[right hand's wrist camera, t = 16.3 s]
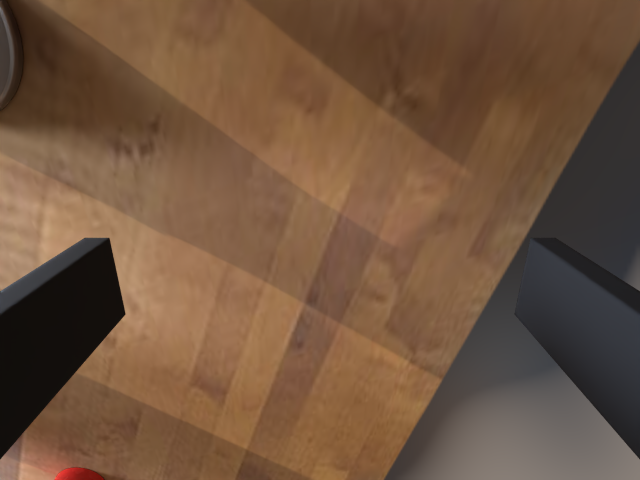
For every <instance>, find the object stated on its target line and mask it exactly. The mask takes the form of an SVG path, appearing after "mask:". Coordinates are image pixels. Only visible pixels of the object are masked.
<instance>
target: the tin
mask: <svg viewBox="0 0 640 480" xmlns="http://www.w3.org/2000/svg"><path fill="white" fill-rule="evenodd" d="M54 480H104V479H103V478H102V477H101V476H100V475H99V474H97V473H95V472H94V471H91V470H88V469H85V468H68V469H65V470H63V471H61V472H60V473H59V474H58V475H57V476H56V478H55V479H54Z"/></svg>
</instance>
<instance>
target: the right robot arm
mask: <svg viewBox="0 0 640 480" xmlns="http://www.w3.org/2000/svg"><path fill="white" fill-rule="evenodd" d="M22 69H23V48H22V42H21V37H20V33H19V29H18V26H17V23H16V21H15V18H14V16H13V13H12V11H11V9H10V7H9V5H8V3H7V2H6V0H0V111H1V110H2V109H3V108H4V107H5V106H6V105H7V104H8V103H9V102H10V101H11V99H12V98H13V96H14V95H15V93H16V91H17V89H18V86H19V83H20V80H21V76H22ZM124 315H125V310H124V305H123V300H122V295H121V291H120V286H119V281H118V276H117V272H116V267H115V262H114V258H113V253H112V248H111V243H110V239H109V238H84V239H82V240H81V241H79V242H78V243H76V244H74V245H73V246H71V247H70V248H68V249H67V250H65V251H63V252H62V253H60V254H59V255H57V256H55V257H54V258H52V259H51V260H49V261H48V262H46V263H44V264H43V265H41V266H40V267H38V268H36V269H35V270H33V271H32V272H30V273H29V274H27V275H25V276H24V277H22V278H21V279H19V280H17V281H16V282H14V283H13V284H11V285H10V286H8V287H6V288H5V289H3V290H2V291H0V459H1V458H2V457H3V455H4V454H5V453H6V452H7V451H8V450H9V448H10V447H11V446H12V445H13V444H14V443H15V442H16V440H17V439H18V438H19V437H20V436H21V435H22V433H23V432H24V431H25V430H26V429H27V428H28V426H29V425H30V424H31V423H32V422H33V421H34V420H35V418H36V417H37V416H38V415H39V414H40V413H41V411H42V410H43V409H44V408H45V407H46V406H47V404H48V403H49V402H50V401H51V400H52V399H53V398H54V396H55V395H56V394H57V393H58V392H59V391H60V389H61V388H62V387H63V386H64V385H65V384H66V383H67V381H68V380H69V379H70V378H71V377H72V376H73V374H74V373H75V372H76V371H77V370H78V369H79V367H80V366H81V365H82V364H83V363H84V362H85V361H86V359H87V358H88V357H89V356H90V355H91V354H92V352H93V351H94V350H95V349H96V348H97V347H98V345H99V344H100V343H101V342H102V341H103V340H104V339H105V337H106V336H107V335H108V334H109V333H110V332H111V330H112V329H113V328H114V327H115V326H116V325H117V323H118V322H119V321H120V320H121V319H122V318H123V317H124ZM515 315H516V317H517V318H518V319H519V320H520V321H521V322H522V323H523V325H524V326H525V327H526V328H527V329H528V330H529V332H530V333H531V334H532V335H533V336H534V337H535V338H536V340H537V341H538V342H539V343H540V344H541V345H542V347H543V348H544V349H545V350H546V351H547V352H548V354H549V355H550V356H551V357H552V358H553V359H554V360H555V362H556V363H557V364H558V365H559V366H560V367H561V369H562V370H563V371H564V372H565V373H566V374H567V376H568V377H569V378H570V379H571V380H572V381H573V382H574V384H575V385H576V386H577V387H578V388H579V389H580V391H581V392H582V393H583V394H584V395H585V396H586V398H587V399H588V400H589V401H590V402H591V403H592V404H593V406H594V407H595V408H596V409H597V410H598V411H599V413H600V414H601V415H602V416H603V417H604V418H605V420H606V421H607V422H608V423H609V424H610V425H611V426H612V428H613V429H614V430H615V431H616V432H617V433H618V435H619V436H620V437H621V438H622V439H623V440H624V442H625V443H626V444H627V445H628V446H629V447H630V448H631V450H632V451H633V452H634V453H635V454H636V455H637V456H638V458H639V459H640V291H638V290H637V289H635V288H634V287H632V286H630V285H629V284H627V283H626V282H624V281H622V280H621V279H619V278H618V277H616V276H615V275H613V274H611V273H610V272H608V271H607V270H605V269H604V268H602V267H600V266H599V265H597V264H596V263H594V262H592V261H591V260H589V259H588V258H586V257H585V256H583V255H581V254H580V253H578V252H577V251H575V250H573V249H572V248H570V247H569V246H567V245H566V244H564V243H562V242H561V241H559V240H558V239H556V238H531V239H530V243H529V248H528V253H527V258H526V262H525V267H524V272H523V276H522V281H521V286H520V291H519V295H518V300H517V305H516V310H515Z"/></svg>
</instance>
